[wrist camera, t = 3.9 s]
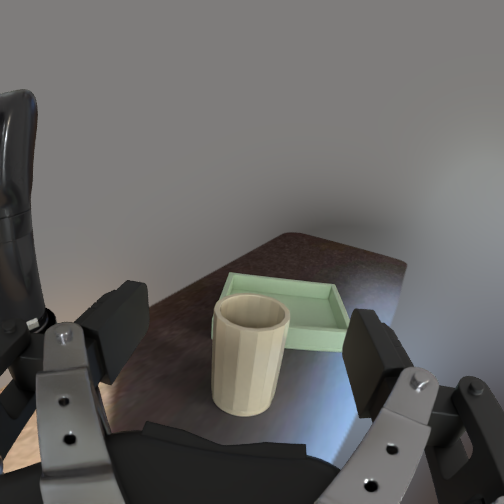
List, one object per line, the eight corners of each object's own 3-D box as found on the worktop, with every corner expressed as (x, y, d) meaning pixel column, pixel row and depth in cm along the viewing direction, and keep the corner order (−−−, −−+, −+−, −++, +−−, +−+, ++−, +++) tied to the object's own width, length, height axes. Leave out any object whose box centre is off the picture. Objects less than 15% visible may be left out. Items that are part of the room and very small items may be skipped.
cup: (206, 411, 24) (207, 325, 20) (217, 370, 29) (221, 289, 26) (272, 419, 23) (291, 335, 20) (273, 377, 29) (288, 297, 26)
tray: (211, 339, 35) (211, 318, 34) (228, 289, 49) (229, 272, 48) (349, 352, 34) (355, 333, 33) (331, 300, 48) (334, 284, 47)
